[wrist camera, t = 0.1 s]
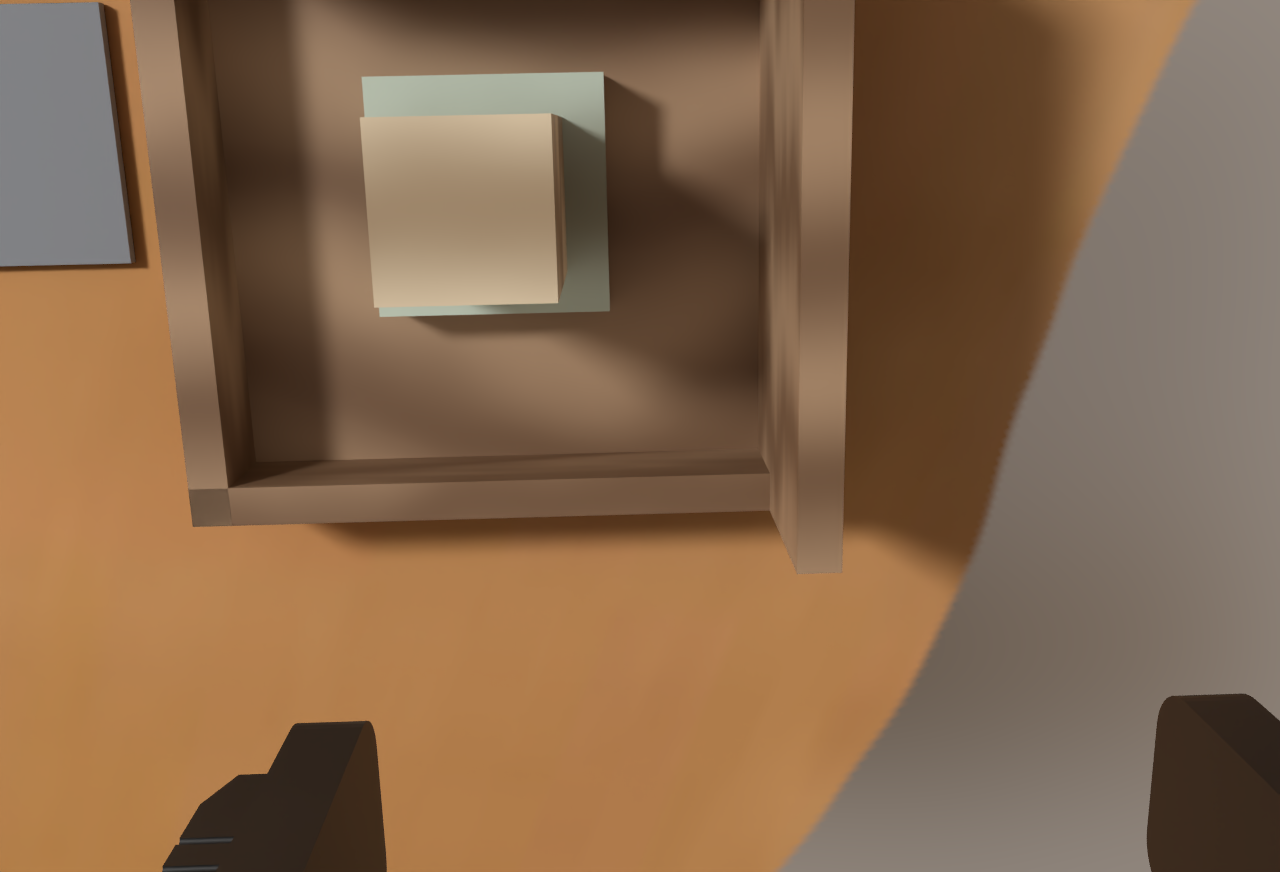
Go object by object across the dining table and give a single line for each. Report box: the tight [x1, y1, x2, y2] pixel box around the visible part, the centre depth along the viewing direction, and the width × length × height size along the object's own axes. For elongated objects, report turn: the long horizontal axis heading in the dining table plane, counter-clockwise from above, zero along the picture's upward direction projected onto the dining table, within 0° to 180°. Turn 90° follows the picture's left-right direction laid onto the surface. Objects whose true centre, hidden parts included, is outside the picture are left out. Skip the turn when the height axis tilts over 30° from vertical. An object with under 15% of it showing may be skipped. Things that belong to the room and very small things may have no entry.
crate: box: [130, 0, 855, 574], centre depth 34 cm, size 19×19×10 cm
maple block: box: [360, 113, 567, 308], centre depth 32 cm, size 4×4×7 cm
